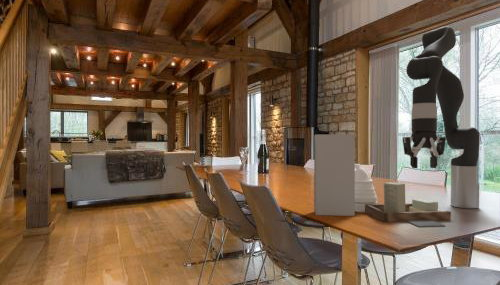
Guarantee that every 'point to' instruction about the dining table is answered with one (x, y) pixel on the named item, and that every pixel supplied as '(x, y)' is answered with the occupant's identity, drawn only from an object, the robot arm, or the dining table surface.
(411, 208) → the offcut lower
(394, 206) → the skincare box
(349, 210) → the tall grey box
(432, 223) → the felt mat
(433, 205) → the offcut upper
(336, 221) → the dining table surface
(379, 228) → the dining table surface
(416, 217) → the rack
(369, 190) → the honey pot
